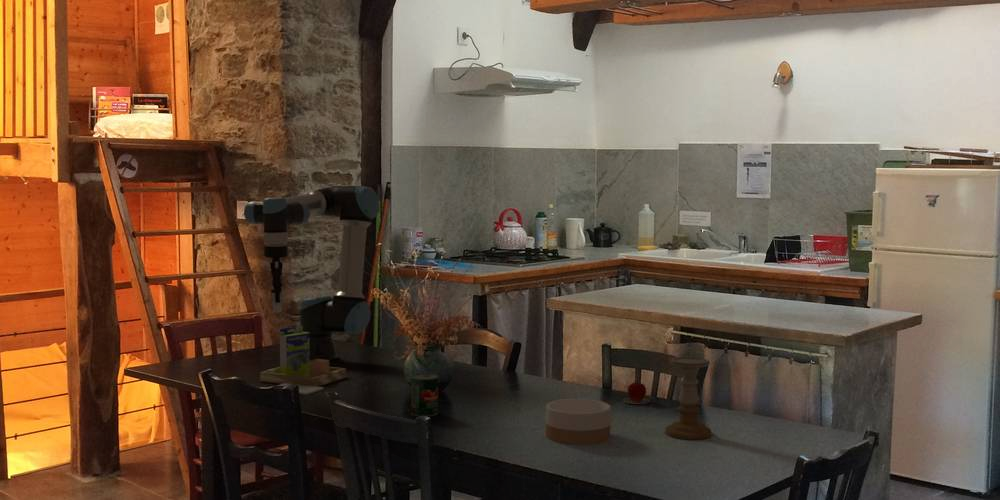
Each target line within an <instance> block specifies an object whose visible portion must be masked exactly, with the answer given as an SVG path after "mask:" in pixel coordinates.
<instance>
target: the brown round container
mask: <svg viewBox="0 0 1000 500" xmlns="http://www.w3.org/2000/svg"><path fill="white" fill-rule="evenodd" d="M611 415H612V414H611V405H610V404H609V403H607V402H604V401H600V400H598V399H597V400H596V399H591V398H590V399H589V398H565V399H564V398H563V399H556V400H553V401H549V402H548V403H547V404H546V405H545V437H546V438H547V439H548V440H550V441H552V442H556V443H559V444H565V445H574V444H579V445H581V446H582V445H585V446H586V445H595V444H596V443H597V444H601V442H602V443H605V442H607V441H609V440H610V439H611V421H612V420H611V418H612V416H611ZM608 439H609V440H608ZM604 441H605V442H604ZM579 445H578V446H579Z"/></svg>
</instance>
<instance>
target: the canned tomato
mask: <svg viewBox="0 0 1000 500" xmlns="http://www.w3.org/2000/svg"><path fill="white" fill-rule="evenodd" d="M410 377H411V378H410V380H411V381H410V384H411V385H410V386H411V387H410V389H411V390H410V392H411V393H410V397H411V398H410V400H411V401H410V402H411V405H410V408H411V410H410V411H411V412H410V414H411V415H412V416H414V415H415V417H419V415H426V416H429V417H434V416H437V415H438V414H439V375H438V374H435V373H415V374H412V375H411V376H410Z"/></svg>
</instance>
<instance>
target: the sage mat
mask: <svg viewBox="0 0 1000 500" xmlns="http://www.w3.org/2000/svg"><path fill="white" fill-rule="evenodd" d="M287 384H289V383H284V384H279V385H277V386H284V385H287ZM297 385H298V384H297ZM298 386H299V393H300V394H299V395H305V396H308V395H310V394H313V393H317V392H320V391H323V390H324V387H323V386H318V387H316V386H307V385H298Z"/></svg>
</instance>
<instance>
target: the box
mask: <svg viewBox="0 0 1000 500" xmlns="http://www.w3.org/2000/svg"><path fill="white" fill-rule="evenodd" d="M289 330H290V331H289ZM291 330H293V331H291ZM279 367H280V374H287V375H296V376H305V377H310V361H309V332H303V326H300V325H296V326H290V327H285V328H284V327H283V328H279Z"/></svg>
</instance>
